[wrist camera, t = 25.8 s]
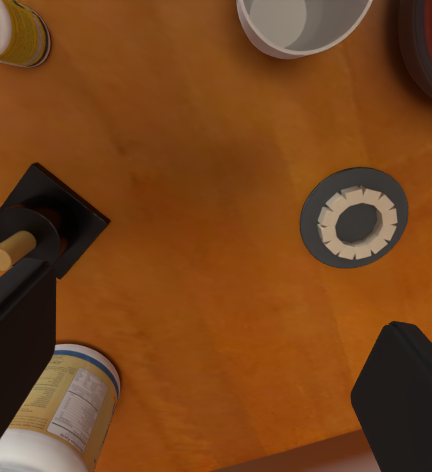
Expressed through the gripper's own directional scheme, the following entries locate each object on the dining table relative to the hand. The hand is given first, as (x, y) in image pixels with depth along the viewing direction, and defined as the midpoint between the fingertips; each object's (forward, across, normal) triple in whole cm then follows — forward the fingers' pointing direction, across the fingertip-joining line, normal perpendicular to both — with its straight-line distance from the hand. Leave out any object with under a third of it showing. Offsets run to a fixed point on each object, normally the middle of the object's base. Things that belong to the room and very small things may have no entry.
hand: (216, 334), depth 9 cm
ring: (+24, -15, +3) cm, 29 cm away
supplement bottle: (+25, +19, -8) cm, 32 cm away
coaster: (+25, -15, +3) cm, 29 cm away
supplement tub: (+25, +13, +30) cm, 41 cm away
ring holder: (+25, +16, +9) cm, 31 cm away
